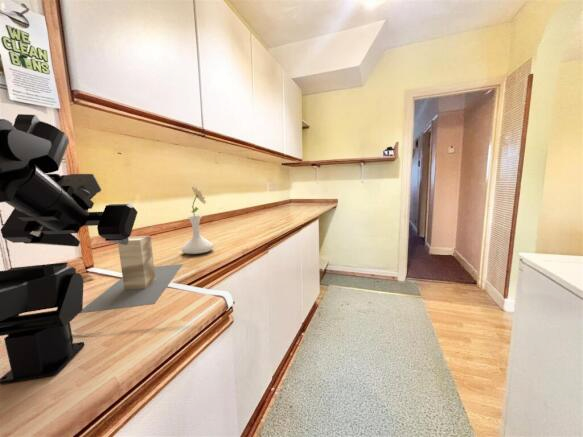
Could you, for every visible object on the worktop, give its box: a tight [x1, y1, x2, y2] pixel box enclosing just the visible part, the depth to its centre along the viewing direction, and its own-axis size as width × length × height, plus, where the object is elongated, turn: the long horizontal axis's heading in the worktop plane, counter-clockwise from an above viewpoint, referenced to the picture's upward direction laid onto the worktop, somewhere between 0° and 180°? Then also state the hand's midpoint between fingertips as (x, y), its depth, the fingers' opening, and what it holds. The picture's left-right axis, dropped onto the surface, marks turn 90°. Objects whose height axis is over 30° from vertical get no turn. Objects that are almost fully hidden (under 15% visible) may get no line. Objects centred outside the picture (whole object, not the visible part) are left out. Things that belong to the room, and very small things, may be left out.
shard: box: [81, 272, 96, 284], centre depth 62 cm, size 11×8×2 cm
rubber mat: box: [79, 263, 183, 314], centre depth 61 cm, size 26×14×1 cm, turn 12°
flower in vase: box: [180, 185, 214, 255], centre depth 89 cm, size 13×11×25 cm
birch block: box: [117, 235, 156, 289], centre depth 59 cm, size 5×5×12 cm
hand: (102, 243), depth 48 cm, fingers open, 9 cm apart
